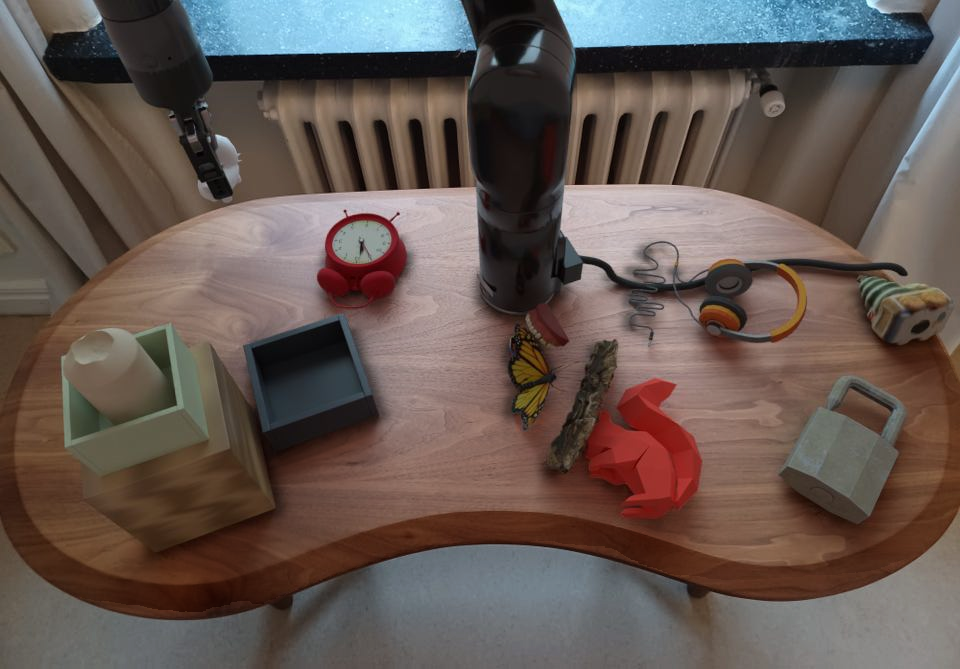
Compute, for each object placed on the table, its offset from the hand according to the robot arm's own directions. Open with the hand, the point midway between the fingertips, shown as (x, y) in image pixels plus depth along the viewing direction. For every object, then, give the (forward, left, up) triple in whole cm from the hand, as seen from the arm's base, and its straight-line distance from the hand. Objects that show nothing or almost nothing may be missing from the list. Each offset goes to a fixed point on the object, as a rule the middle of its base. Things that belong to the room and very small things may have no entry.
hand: (219, 174), depth 80 cm
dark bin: (-3, +25, -12) cm, 28 cm away
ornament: (-68, +46, -9) cm, 83 cm away
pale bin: (+10, +31, +2) cm, 33 cm away
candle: (+10, +31, +2) cm, 33 cm away
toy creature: (0, 0, -2) cm, 2 cm away
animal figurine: (-33, +46, -12) cm, 58 cm away
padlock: (-46, +57, -10) cm, 74 cm away
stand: (+10, +31, -12) cm, 35 cm away
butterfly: (-27, +36, -10) cm, 46 cm away
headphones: (-50, +32, -12) cm, 60 cm away
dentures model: (-29, +30, -5) cm, 42 cm away
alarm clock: (-13, +10, -12) cm, 21 cm away
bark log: (-30, +40, -12) cm, 51 cm away
